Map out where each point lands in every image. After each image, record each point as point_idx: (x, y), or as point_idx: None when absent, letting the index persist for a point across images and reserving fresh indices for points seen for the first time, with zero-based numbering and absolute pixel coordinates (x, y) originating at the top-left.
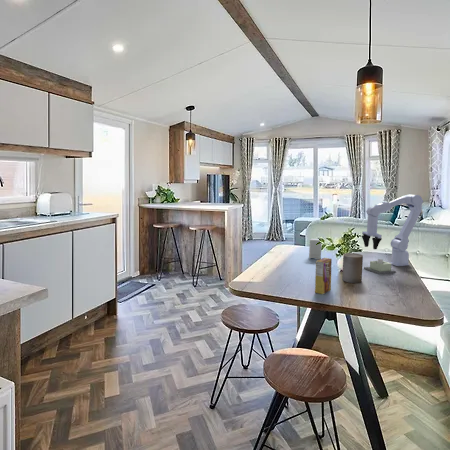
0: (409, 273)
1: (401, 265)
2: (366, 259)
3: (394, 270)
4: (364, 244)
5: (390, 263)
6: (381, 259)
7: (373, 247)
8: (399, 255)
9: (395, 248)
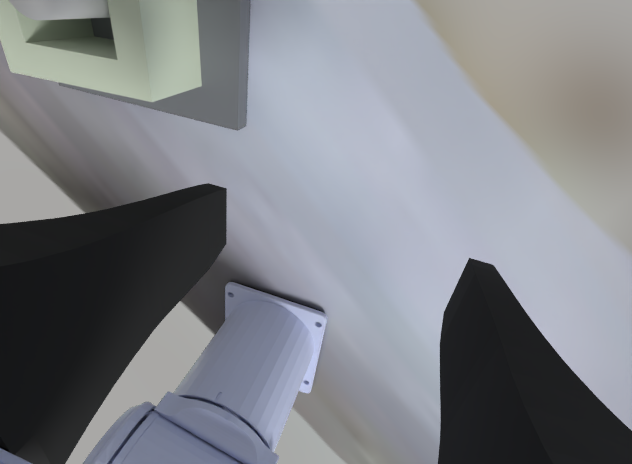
0: (51, 160)
1: (226, 311)
2: (556, 319)
3: (70, 86)
4: (504, 290)
5: (7, 56)
6: (39, 13)
7: (196, 191)
8: (192, 366)
9: (207, 439)
